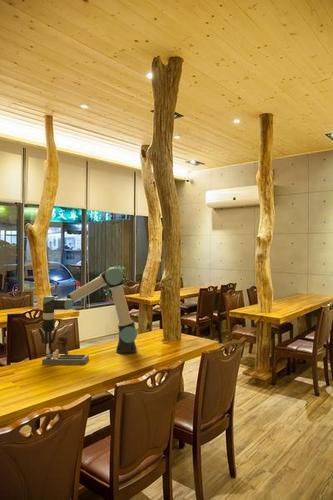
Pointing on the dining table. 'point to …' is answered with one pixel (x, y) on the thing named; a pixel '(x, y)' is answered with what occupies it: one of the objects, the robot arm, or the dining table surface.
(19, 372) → the dining table surface
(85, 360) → the switch bank
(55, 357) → the tab ivory
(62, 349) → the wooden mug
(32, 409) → the dining table surface
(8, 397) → the dining table surface
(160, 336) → the dining table surface
